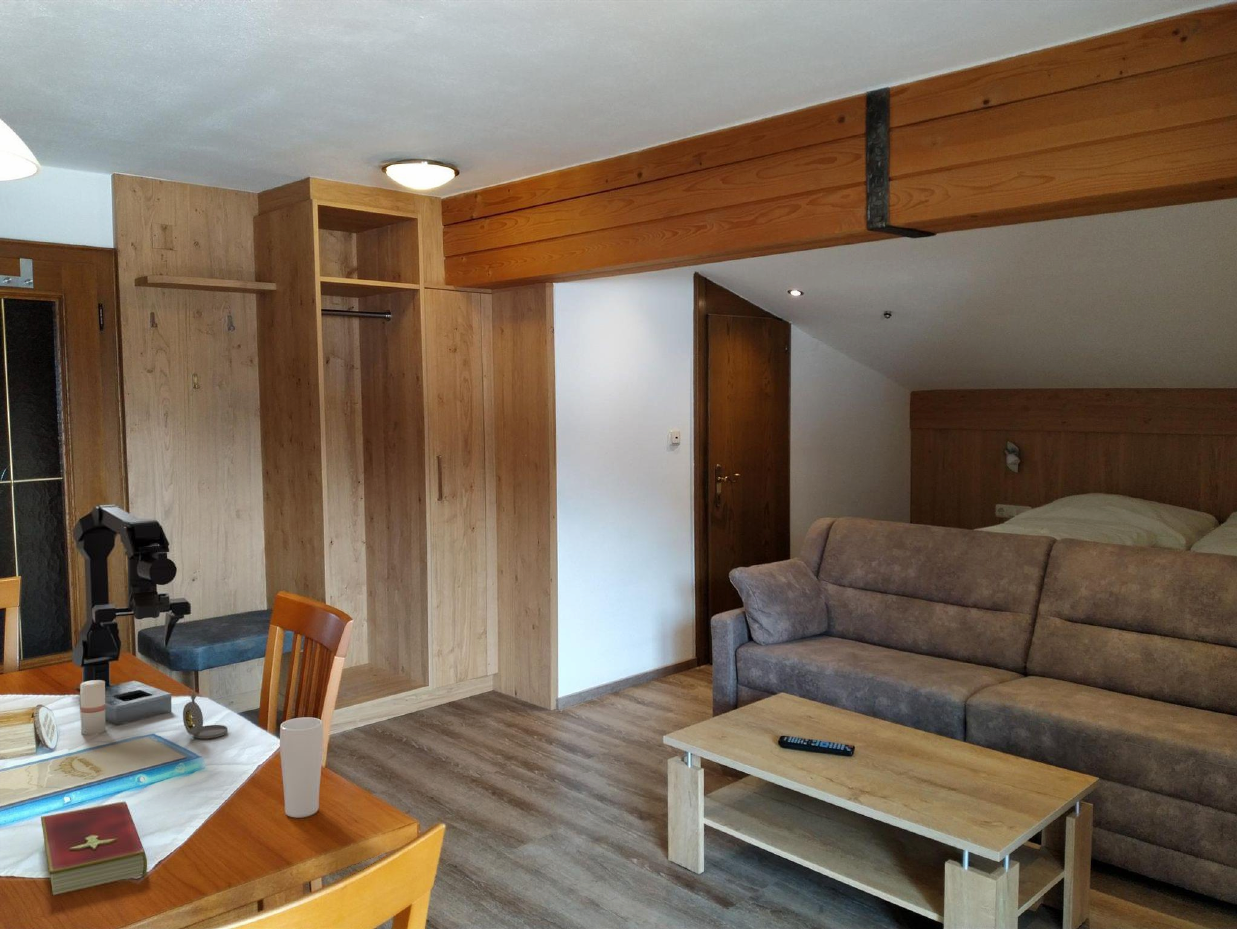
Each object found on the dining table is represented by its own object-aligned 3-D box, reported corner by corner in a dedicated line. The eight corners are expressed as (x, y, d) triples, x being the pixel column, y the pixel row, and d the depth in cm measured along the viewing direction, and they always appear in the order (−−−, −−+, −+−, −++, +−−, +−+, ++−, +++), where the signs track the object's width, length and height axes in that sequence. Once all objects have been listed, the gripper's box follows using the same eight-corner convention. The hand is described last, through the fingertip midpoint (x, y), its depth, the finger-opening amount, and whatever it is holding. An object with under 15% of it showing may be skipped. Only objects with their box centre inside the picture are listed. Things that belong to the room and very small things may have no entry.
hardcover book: (128, 824, 155) (127, 798, 155) (147, 877, 138) (147, 849, 138) (41, 841, 149) (40, 814, 149) (50, 900, 131) (49, 870, 131)
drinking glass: (311, 800, 165) (311, 714, 164) (330, 812, 160) (330, 723, 159) (273, 811, 160) (272, 722, 159) (291, 824, 155) (291, 733, 154)
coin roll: (76, 731, 197) (76, 683, 197) (99, 726, 201) (98, 678, 200) (87, 736, 195) (86, 687, 194) (109, 730, 198) (109, 682, 198)
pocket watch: (233, 730, 200) (233, 682, 199) (212, 744, 191) (212, 694, 191) (195, 728, 200) (195, 680, 200) (173, 742, 192) (172, 692, 192)
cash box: (79, 710, 211) (79, 692, 211) (134, 697, 221) (134, 680, 220) (115, 725, 201) (115, 706, 201) (171, 711, 211) (171, 693, 211)
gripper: (97, 588, 197) (98, 663, 198) (195, 581, 208) (195, 652, 209) (91, 579, 206) (92, 651, 207) (185, 572, 217) (186, 640, 218)
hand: (142, 649), depth 210 cm, fingers open, 9 cm apart
